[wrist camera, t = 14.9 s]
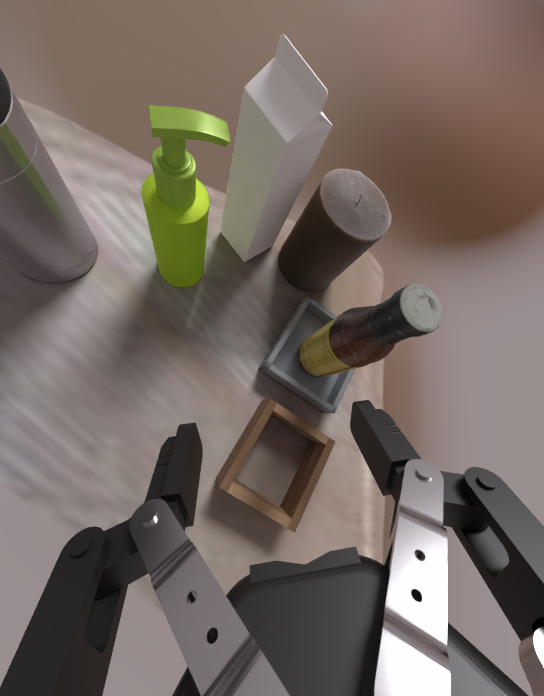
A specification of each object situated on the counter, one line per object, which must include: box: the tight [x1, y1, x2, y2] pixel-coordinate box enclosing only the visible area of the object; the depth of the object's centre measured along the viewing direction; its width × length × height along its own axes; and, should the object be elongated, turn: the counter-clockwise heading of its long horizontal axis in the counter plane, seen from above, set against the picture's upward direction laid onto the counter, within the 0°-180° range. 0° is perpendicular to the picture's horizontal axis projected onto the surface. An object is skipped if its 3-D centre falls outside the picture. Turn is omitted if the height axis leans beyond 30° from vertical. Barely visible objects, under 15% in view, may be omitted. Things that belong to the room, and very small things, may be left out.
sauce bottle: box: [298, 284, 443, 377], centre depth 29 cm, size 7×6×20 cm
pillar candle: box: [279, 169, 391, 292], centre depth 36 cm, size 10×10×15 cm
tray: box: [259, 296, 355, 413], centre depth 37 cm, size 11×12×3 cm
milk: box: [220, 34, 332, 262], centre depth 30 cm, size 6×6×22 cm
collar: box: [216, 399, 335, 532], centre depth 32 cm, size 10×11×4 cm
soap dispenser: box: [142, 105, 231, 287], centre depth 27 cm, size 6×7×20 cm
